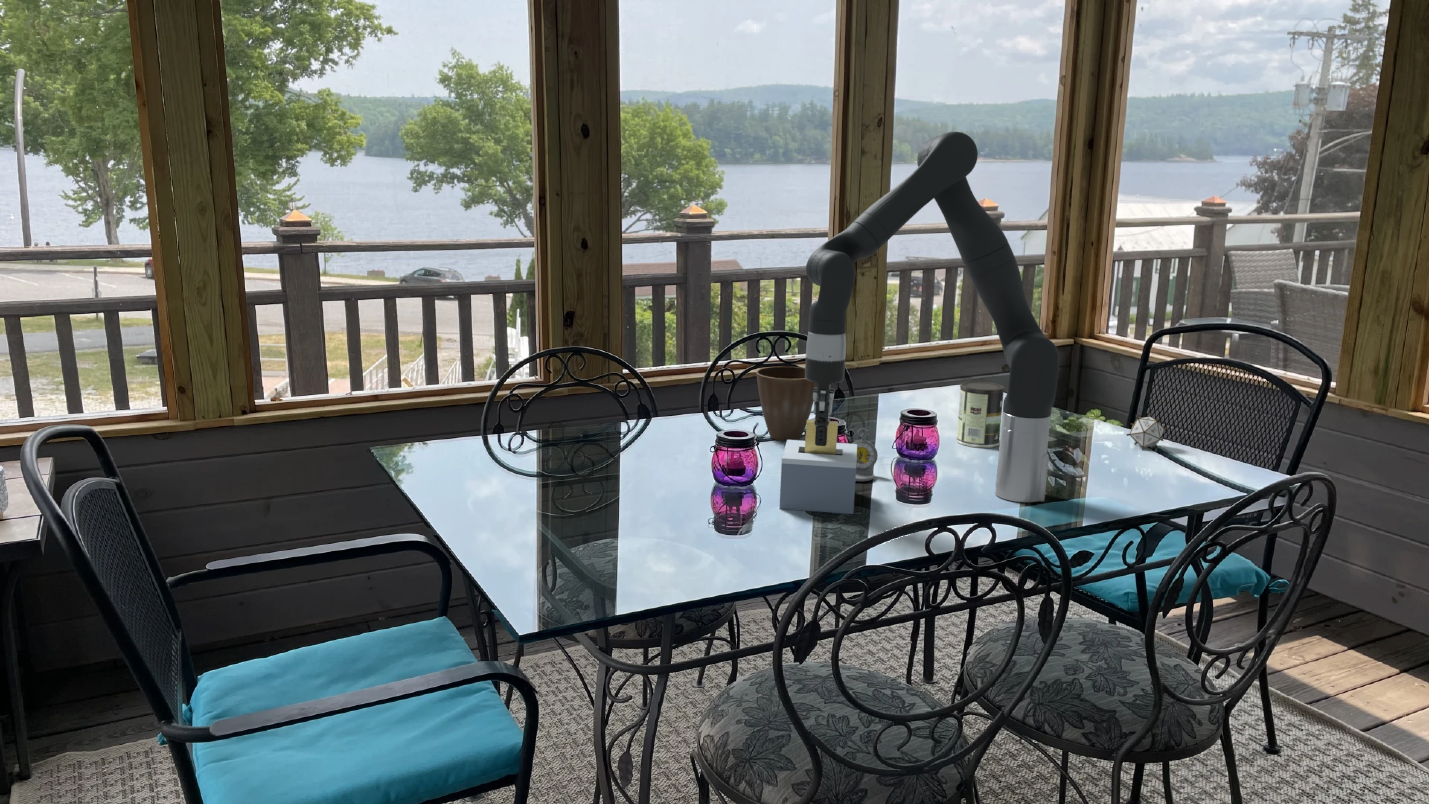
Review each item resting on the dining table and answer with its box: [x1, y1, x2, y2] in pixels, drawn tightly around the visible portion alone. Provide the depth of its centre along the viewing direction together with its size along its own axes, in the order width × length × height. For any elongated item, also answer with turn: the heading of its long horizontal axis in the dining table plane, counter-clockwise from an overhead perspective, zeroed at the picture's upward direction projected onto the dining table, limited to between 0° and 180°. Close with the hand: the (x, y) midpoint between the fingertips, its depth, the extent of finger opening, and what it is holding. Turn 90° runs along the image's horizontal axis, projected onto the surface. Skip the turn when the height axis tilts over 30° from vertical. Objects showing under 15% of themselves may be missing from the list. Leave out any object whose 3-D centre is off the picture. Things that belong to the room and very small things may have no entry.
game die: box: [1125, 413, 1168, 451], centre depth 254 cm, size 9×8×10 cm
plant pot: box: [755, 366, 818, 442], centre depth 252 cm, size 15×15×16 cm
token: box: [804, 419, 839, 455], centre depth 205 cm, size 6×2×6 cm, turn 82°
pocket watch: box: [850, 427, 878, 483], centre depth 223 cm, size 8×8×10 cm
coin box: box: [779, 439, 858, 515], centre depth 206 cm, size 14×14×10 cm
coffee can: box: [955, 380, 1005, 449], centre depth 253 cm, size 10×10×14 cm
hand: (821, 443), depth 205 cm, fingers closed on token, 2 cm apart
